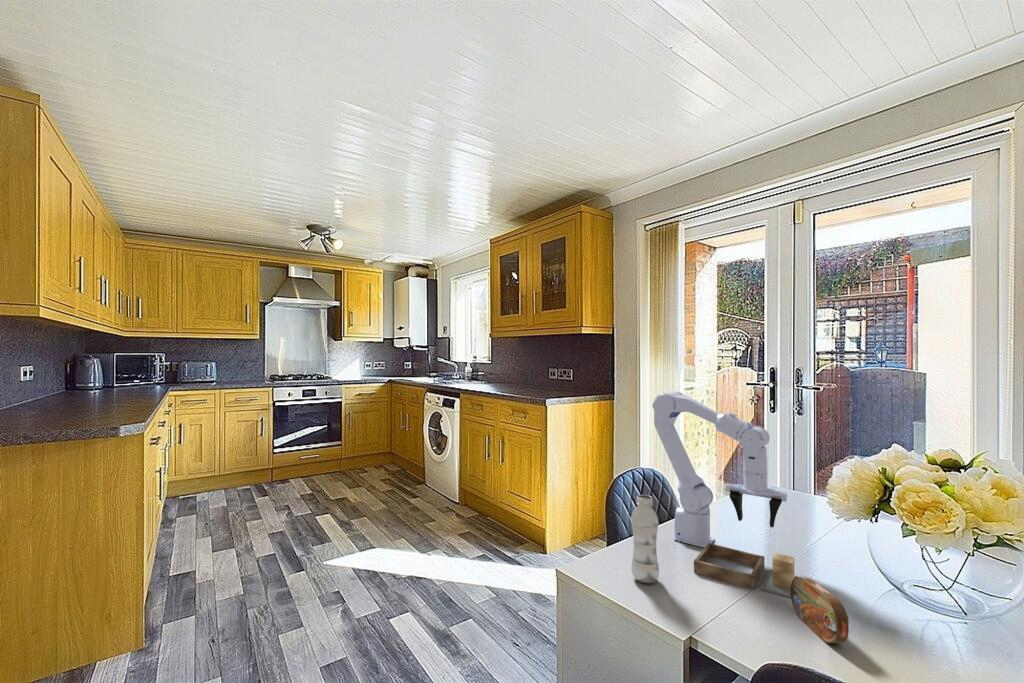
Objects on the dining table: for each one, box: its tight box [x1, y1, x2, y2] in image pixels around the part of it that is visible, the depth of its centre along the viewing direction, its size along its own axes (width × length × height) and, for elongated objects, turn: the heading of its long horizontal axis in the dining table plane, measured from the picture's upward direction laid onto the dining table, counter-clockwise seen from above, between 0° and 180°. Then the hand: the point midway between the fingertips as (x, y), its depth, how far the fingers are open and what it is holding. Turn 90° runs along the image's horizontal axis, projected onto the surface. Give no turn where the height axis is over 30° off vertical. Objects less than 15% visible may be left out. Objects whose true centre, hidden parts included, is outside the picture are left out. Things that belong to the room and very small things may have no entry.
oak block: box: [772, 552, 795, 589], centre depth 110 cm, size 4×4×6 cm
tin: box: [790, 576, 850, 644], centre depth 92 cm, size 15×3×8 cm, turn 178°
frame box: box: [693, 543, 766, 591], centre depth 117 cm, size 14×14×3 cm
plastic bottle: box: [630, 494, 660, 584], centre depth 112 cm, size 6×7×20 cm
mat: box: [760, 569, 803, 599], centre depth 110 cm, size 8×12×1 cm, turn 142°
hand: (755, 522), depth 124 cm, fingers open, 7 cm apart
